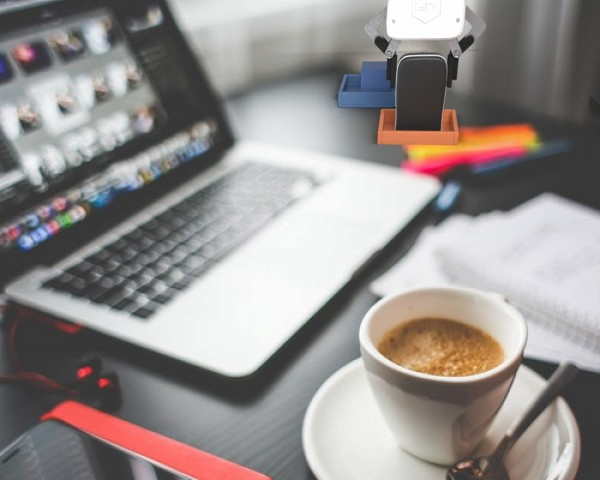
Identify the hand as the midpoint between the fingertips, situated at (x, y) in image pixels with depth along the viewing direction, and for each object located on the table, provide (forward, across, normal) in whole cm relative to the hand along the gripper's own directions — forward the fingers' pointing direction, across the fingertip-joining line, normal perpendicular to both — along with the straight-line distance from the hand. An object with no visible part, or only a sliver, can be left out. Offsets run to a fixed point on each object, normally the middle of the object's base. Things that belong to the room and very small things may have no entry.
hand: (420, 84), depth 89 cm
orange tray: (+8, 0, 0) cm, 8 cm away
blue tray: (+8, -7, +19) cm, 22 cm away
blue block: (+7, -7, +19) cm, 22 cm away
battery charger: (+7, 0, 0) cm, 7 cm away
